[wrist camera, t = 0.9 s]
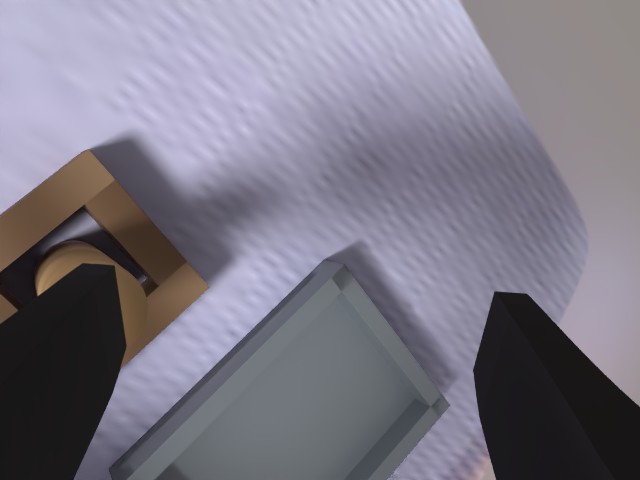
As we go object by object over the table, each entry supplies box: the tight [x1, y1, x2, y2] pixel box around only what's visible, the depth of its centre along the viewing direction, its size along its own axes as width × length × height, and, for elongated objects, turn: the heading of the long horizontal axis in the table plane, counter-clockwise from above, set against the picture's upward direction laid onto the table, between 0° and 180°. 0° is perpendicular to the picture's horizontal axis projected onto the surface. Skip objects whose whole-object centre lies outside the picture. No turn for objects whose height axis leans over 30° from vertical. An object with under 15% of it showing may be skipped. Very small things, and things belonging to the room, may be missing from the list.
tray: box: [109, 260, 450, 480], centre depth 26 cm, size 12×9×2 cm
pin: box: [34, 241, 148, 349], centre depth 19 cm, size 3×3×7 cm
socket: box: [0, 149, 209, 369], centre depth 21 cm, size 6×6×2 cm
